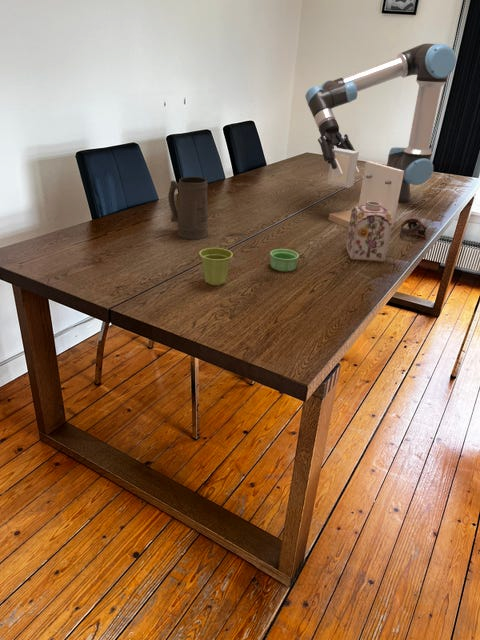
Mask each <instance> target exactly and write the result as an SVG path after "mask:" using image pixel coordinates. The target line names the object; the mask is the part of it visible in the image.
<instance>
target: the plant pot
mask: <svg viewBox="0 0 480 640" xmlns="http://www.w3.org/2000/svg"><path fill="white" fill-rule="evenodd" d="M198 253H199V256H200V259H201V262H202V269H203V276H204V278H203V279H204V282H205V283H206V284H207V283H208V284H209V285H211V286H220V285H222V284H225V283H226V282H227V281H226V280H227V276H228V271H229V265H230V262H231V260H232V257H233V252H232V251H231V250H229V249H226V248H222V247H221V248H220V247H208V248H203V249H201V250H200V251H199V252H198Z"/></svg>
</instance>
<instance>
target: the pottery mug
mask: <svg viewBox="0 0 480 640" xmlns="http://www.w3.org/2000/svg"><path fill="white" fill-rule="evenodd" d="M405 225H407V227H408V228H405V227H404V226H405ZM426 230H427V229H426V225H425V224H424V223H423V222H422V221H421V220H420V218H418V217H410V218H406V219H405V220H404V221H403V222H401V223H400V230H399V236H400V237H402V236H406V237H408V236H412V235H413V236H415V235H416V236H418V234H419V236H423V237H424V240H427V231H426Z"/></svg>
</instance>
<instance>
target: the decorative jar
mask: <svg viewBox="0 0 480 640" xmlns="http://www.w3.org/2000/svg"><path fill="white" fill-rule="evenodd" d="M351 210H352V212H351V217H350V223H349V228H347V229H348V230H347V237H346V244H345V248H346V249H345V250H346V251H347V253H348V255H349V258H350V260H352V261H353V260H354V261H369V262H385V261H386V259H387V254H388V248H389V244H390V243H389V242H390V237H391V231H392V228H393V227H392V218H391V212H390V211H389V209H387V208H384V207H382V206H381V203H379V202H375V201H368V202H367V203H366V205H359V204H358V205H356V206H354V208H353V209H351Z"/></svg>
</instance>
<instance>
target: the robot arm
mask: <svg viewBox="0 0 480 640" xmlns="http://www.w3.org/2000/svg"><path fill="white" fill-rule="evenodd" d="M456 60H457V58H456V54H455V51H454V50H453V48H452V47H451V46H450V45H447V44H444V43H422V44H419V45H417V46H415V47H412V48H410V49H407V50H404V51H402V52H400V53H398V54H397V56H396V57H394V58H390V59H388V60H386V61H383V62H380V63H377V64H375V65H373V66H372V65H371V66H370V67H369V66H368V67H366V68H363V69H361V70H357V71H355V72H353V73H350V74H348V75H345V76H342V77H339V78H336V79H333V80H327V81H324V82H323V83H322V84H321V85H315V86H312V87H311V88H309V89H308V90H307V92H306V93H305V95H304V96H305V100H306V103H307V107H308V108H309V111H310V112H311V115H312V117H313V119H314V122H315V124H316V126H317V128H318V132H319V134H320V136H319V138H318V139H317V142H318V143H319V146H320V149H321V153H322V156H323V159H324V161H325V162H327V164H329V165H330V163H331V166H332V168H333V169H334V171H335V173H336V175H337V178H338V177H340V176H341V175H342V174H343V172H342V170H341V168H340V165H339V163H338V161H337V159H335V157H334V152H333V151H332V150H333V149H335V147H336V148H341V149H346V150H352V151H356V150H355V148H354V147H353V144H352V143H351V141H350V140H349V135H348V134H347V133H345V134H344V135H343V134H341V132H340V126H339V124H338V121H337V120H336V116H335V114H334V112H333V109H334V108H337V107H339V106H342V105H345V104H348V103H352V101H355V100H357V98H358V92H361V91H363V90H366V89H369V88H371V87H374V86H377V85H381V84H383V83H385V82H388V81H390V80H393V79H396V78H399V77H401V78H407V77H410V76H416V79H415V82H416V83H417V84H418V89H417V95H416V102H415V107H414V111H413V119H412V122H411V123H412V124H411V129H410V135H409V141H408V144H407V145H408V146H407V147H391V148H390V150H389V152H388V155H387V156H388V157H387V163H386V166H389V167H392V168H396V169H399V170H403V171H404V175H403V180H402V185H401V190H400V195H399V200H398V203H407V202H409V201H411V198H412V197H411V196H412V194H411V185H413V186H419V185H422V184H425V183H426V182H427V181H428V180H430V178H431V177H432V175H433V173H434V164H433V162H432V161H431V160H432V159H431V158H432V154H433V153H432V150H431V149H430V145H431V140H432V135H433V131H434V130H433V128H434V124H435V119H436V115H437V109H438V106H439V105H438V104H439V100H440V93H441V90H442V87H443V86H444V85H445V84H446V83H447V80H448V77H449V76H450V74H451V73H452V72H453V71H454V69H455V66H456V62H457V61H456ZM334 159H335V160H334ZM359 173H360V170H359V168H358V166H356V172H355V176H357V174H359Z"/></svg>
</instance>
